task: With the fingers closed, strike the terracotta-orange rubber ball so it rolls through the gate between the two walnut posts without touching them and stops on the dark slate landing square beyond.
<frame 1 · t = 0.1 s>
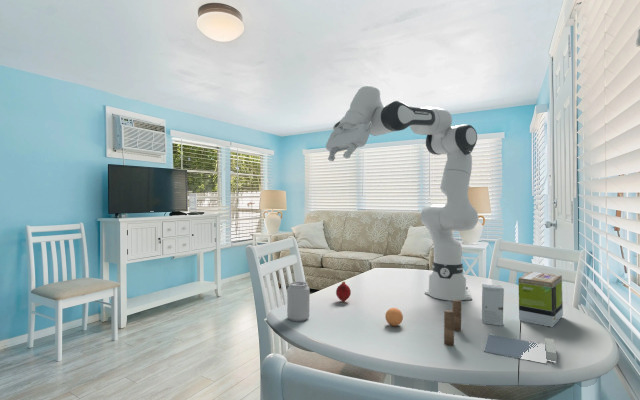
hand: (337, 159, 119), 54 cm above the table, tool tilted 30°, fingers open, 8 cm apart
stopper wall: (550, 354, 91), on the table
post 1: (449, 343, 98), on the table
tea box: (541, 319, 120), on the table
post 2: (456, 329, 109), on the table
onion: (343, 302, 139), on the table
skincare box: (492, 323, 115), on the table
can: (298, 319, 119), on the table
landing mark: (515, 348, 95), on the table
ball: (394, 316, 112), on the table
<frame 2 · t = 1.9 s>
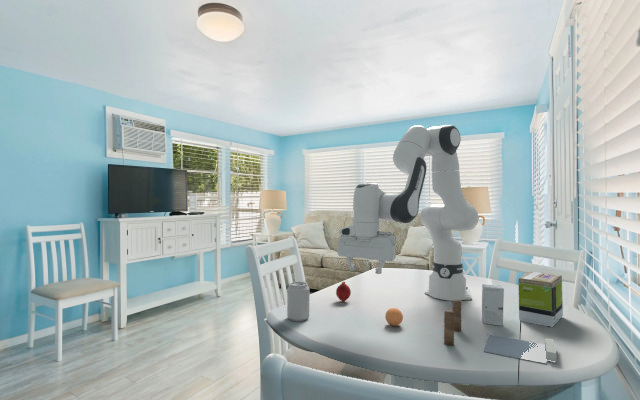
hand: (365, 272, 117), 16 cm above the table, tool pointing down, fingers open, 8 cm apart
nothing on the table moved.
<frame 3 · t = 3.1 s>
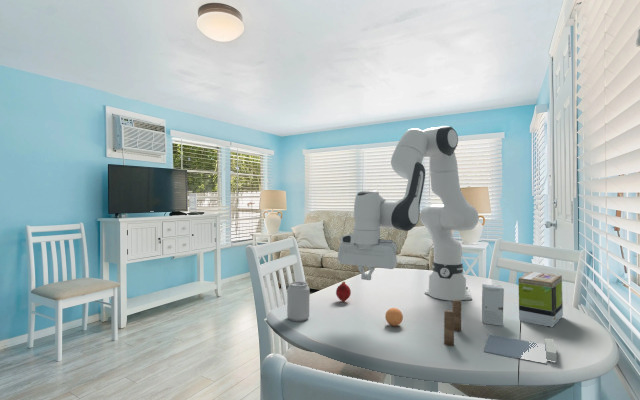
hand: (366, 279, 117), 14 cm above the table, tool pointing down, fingers closed
nothing on the table moved.
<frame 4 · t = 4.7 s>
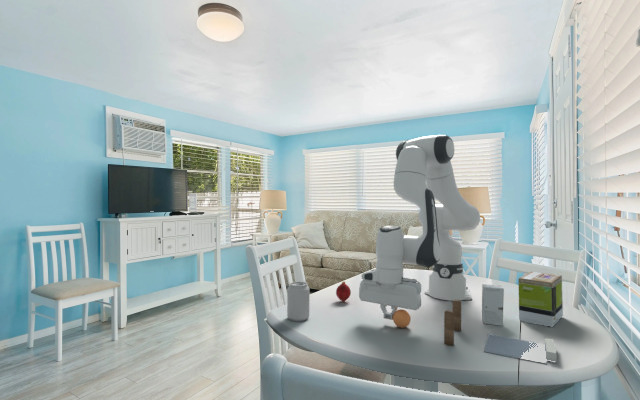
hand: (388, 318, 113), 2 cm above the table, tool pointing down, fingers closed
ball: (401, 318, 111), on the table
everything else where it was.
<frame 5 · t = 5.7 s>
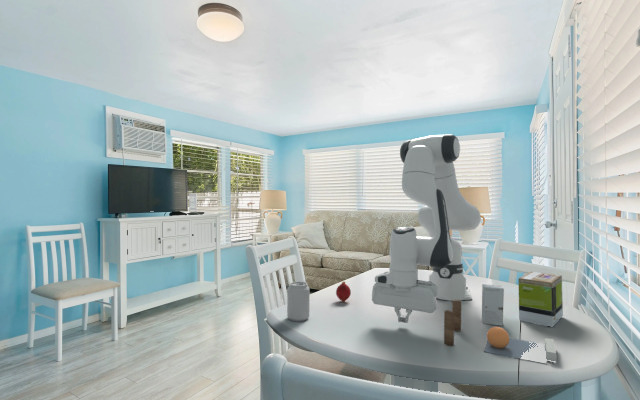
hand: (403, 322, 111), 2 cm above the table, tool pointing down, fingers closed
ball: (498, 337, 96), on the table
everything else where it was.
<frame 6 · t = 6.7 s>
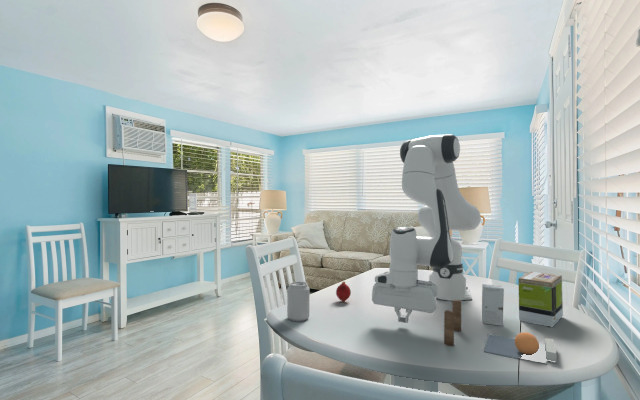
hand: (403, 322, 111), 2 cm above the table, tool pointing down, fingers closed
ball: (526, 343, 92), on the table
everything else where it was.
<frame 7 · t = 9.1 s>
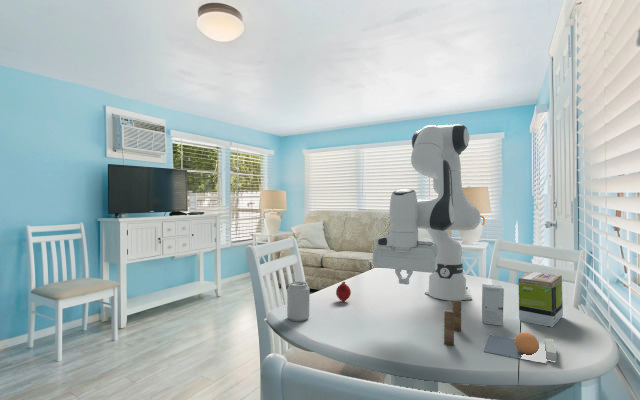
hand: (404, 283, 111), 14 cm above the table, tool pointing down, fingers closed
nothing on the table moved.
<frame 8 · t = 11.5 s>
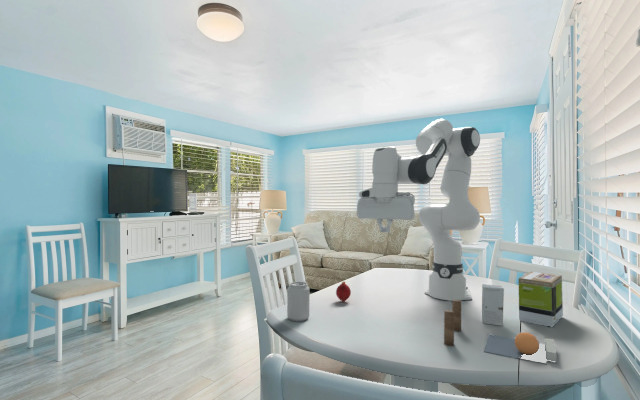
hand: (384, 232, 122), 29 cm above the table, tool pointing down, fingers closed
nothing on the table moved.
at the end: ball 3.7 cm from the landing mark (horizontally); ball never touched post 2; ball never touched post 1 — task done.
